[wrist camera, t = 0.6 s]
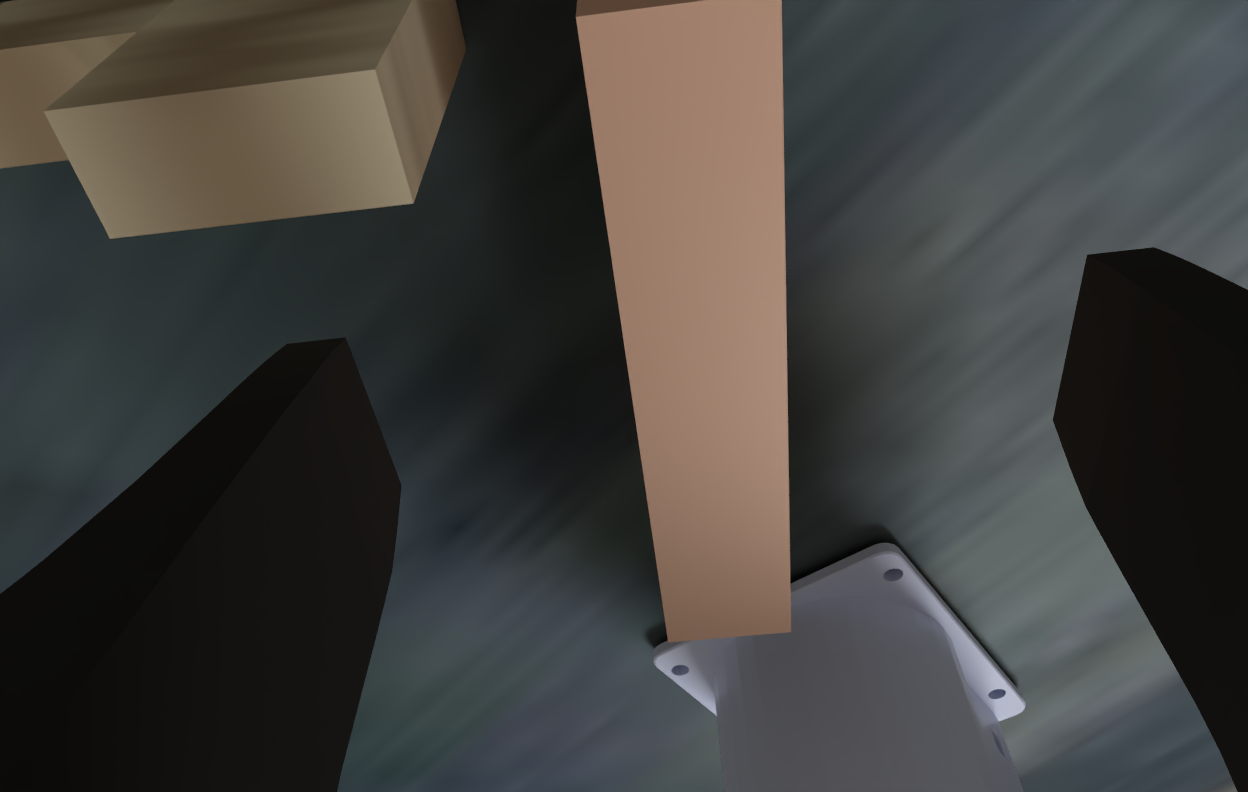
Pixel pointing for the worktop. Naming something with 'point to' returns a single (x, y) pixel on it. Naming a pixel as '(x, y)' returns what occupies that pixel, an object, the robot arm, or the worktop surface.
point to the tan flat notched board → (701, 291)
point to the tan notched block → (227, 103)
